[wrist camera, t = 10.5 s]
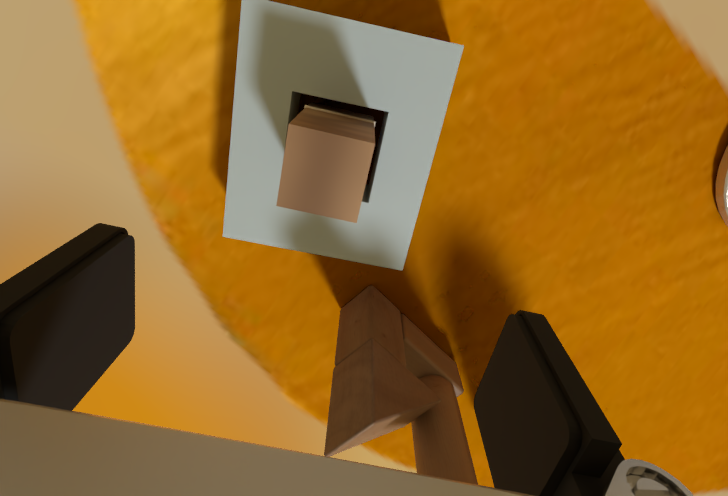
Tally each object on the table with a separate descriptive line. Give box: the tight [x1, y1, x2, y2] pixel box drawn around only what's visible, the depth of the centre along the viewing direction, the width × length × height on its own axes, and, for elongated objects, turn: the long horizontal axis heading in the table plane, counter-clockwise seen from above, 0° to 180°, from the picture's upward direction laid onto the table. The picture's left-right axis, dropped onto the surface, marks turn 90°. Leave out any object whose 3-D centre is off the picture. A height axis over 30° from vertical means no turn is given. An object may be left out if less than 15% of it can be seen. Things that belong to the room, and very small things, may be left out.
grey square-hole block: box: [223, 0, 464, 271], centre depth 28 cm, size 12×14×4 cm
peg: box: [276, 102, 376, 223], centre depth 25 cm, size 4×4×10 cm
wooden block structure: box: [324, 285, 478, 485], centre depth 29 cm, size 4×11×18 cm, turn 44°
